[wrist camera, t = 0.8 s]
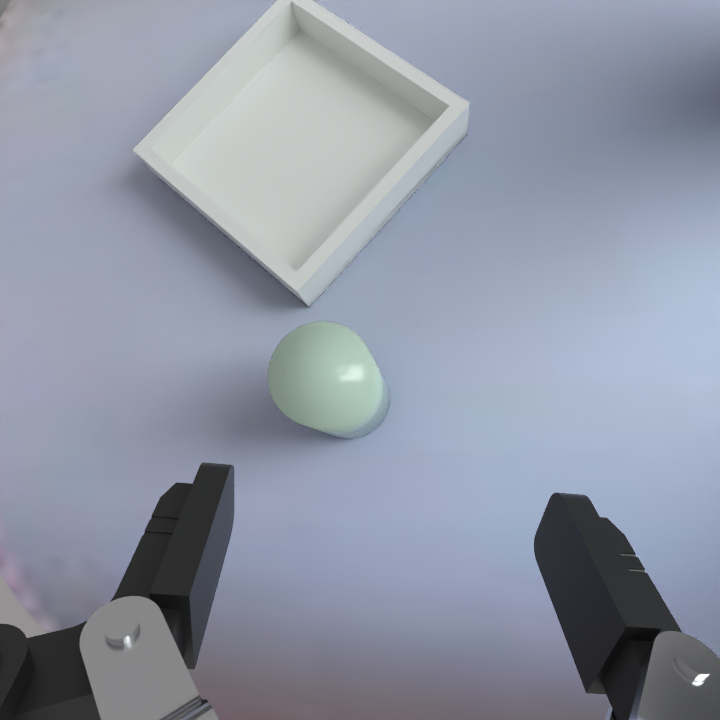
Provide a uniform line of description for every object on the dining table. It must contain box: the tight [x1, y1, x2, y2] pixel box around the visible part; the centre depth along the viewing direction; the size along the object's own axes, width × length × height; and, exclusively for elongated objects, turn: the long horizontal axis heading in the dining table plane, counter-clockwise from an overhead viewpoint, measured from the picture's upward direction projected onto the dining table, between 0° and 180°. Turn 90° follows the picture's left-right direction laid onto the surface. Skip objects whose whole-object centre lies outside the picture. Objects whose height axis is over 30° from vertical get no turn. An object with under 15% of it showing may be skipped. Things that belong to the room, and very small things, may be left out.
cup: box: [268, 321, 390, 439], centre depth 31 cm, size 6×6×10 cm
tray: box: [133, 0, 470, 307], centre depth 39 cm, size 18×18×4 cm
